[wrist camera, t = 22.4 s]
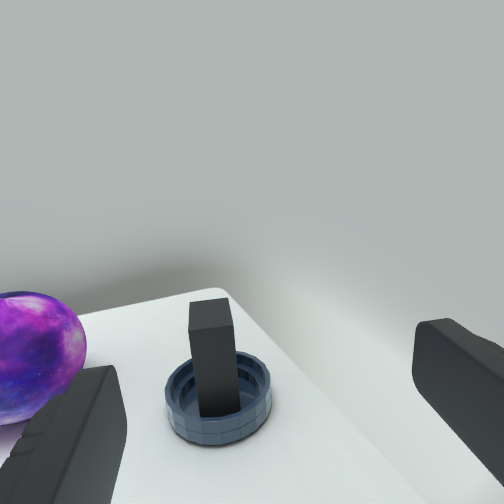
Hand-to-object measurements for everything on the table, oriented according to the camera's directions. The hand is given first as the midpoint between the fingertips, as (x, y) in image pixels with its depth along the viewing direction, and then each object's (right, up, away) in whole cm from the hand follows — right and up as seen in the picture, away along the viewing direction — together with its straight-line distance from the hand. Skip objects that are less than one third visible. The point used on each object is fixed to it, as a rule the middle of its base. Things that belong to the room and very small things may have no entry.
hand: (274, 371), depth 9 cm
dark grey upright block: (-4, -15, +31) cm, 35 cm away
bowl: (-4, -15, +31) cm, 35 cm away
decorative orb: (-28, -16, +33) cm, 47 cm away
